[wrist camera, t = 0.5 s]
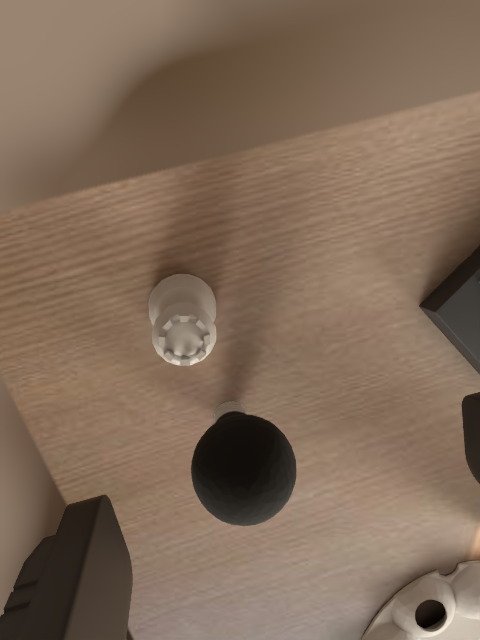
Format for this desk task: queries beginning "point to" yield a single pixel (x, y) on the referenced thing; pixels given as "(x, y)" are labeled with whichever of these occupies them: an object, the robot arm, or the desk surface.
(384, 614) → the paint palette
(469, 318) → the scale
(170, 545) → the desk surface
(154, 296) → the rook chess piece
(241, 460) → the light bulb
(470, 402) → the robot arm
